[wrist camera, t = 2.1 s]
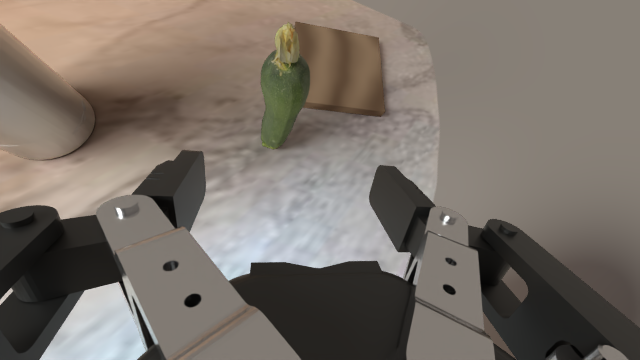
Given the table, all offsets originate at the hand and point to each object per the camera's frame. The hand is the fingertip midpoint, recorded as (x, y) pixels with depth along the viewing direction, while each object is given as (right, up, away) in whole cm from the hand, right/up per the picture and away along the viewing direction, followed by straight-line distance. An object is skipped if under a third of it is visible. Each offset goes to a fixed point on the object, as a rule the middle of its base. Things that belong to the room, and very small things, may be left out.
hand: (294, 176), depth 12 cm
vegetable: (-5, +5, +23) cm, 24 cm away
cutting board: (+4, +17, +28) cm, 33 cm away
